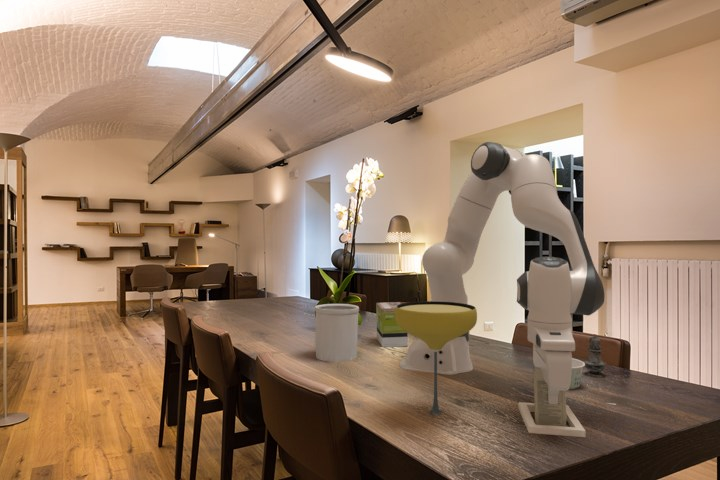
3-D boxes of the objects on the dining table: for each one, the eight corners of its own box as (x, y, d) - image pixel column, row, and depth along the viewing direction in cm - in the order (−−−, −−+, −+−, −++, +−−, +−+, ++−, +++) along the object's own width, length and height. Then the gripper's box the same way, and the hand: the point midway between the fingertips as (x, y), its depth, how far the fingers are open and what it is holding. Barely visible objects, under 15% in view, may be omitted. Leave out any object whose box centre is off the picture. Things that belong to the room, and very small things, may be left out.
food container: (582, 395, 122) (582, 369, 122) (533, 387, 128) (533, 363, 128) (587, 383, 132) (587, 359, 132) (542, 376, 138) (542, 354, 138)
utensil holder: (351, 351, 169) (351, 302, 168) (365, 362, 154) (365, 308, 154) (310, 355, 164) (310, 304, 164) (321, 366, 150) (320, 310, 150)
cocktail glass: (493, 428, 101) (493, 310, 100) (414, 439, 95) (414, 314, 95) (453, 400, 118) (452, 299, 118) (384, 408, 113) (384, 302, 113)
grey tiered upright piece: (608, 378, 136) (608, 336, 136) (586, 377, 137) (586, 335, 137) (602, 372, 142) (602, 332, 142) (581, 371, 143) (581, 331, 143)
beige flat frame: (528, 439, 95) (528, 426, 95) (518, 413, 109) (518, 402, 109) (585, 443, 93) (585, 430, 93) (567, 416, 107) (567, 405, 107)
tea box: (375, 338, 190) (375, 302, 190) (400, 338, 191) (400, 301, 191) (381, 347, 175) (381, 307, 175) (408, 346, 176) (408, 307, 176)
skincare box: (565, 425, 102) (565, 368, 102) (566, 433, 98) (566, 373, 98) (533, 421, 104) (533, 365, 104) (533, 429, 100) (533, 371, 100)
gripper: (526, 324, 112) (526, 382, 112) (542, 343, 92) (542, 414, 92) (554, 325, 111) (554, 384, 111) (577, 344, 91) (577, 417, 91)
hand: (549, 398), depth 101 cm, fingers closed on skincare box, 5 cm apart
